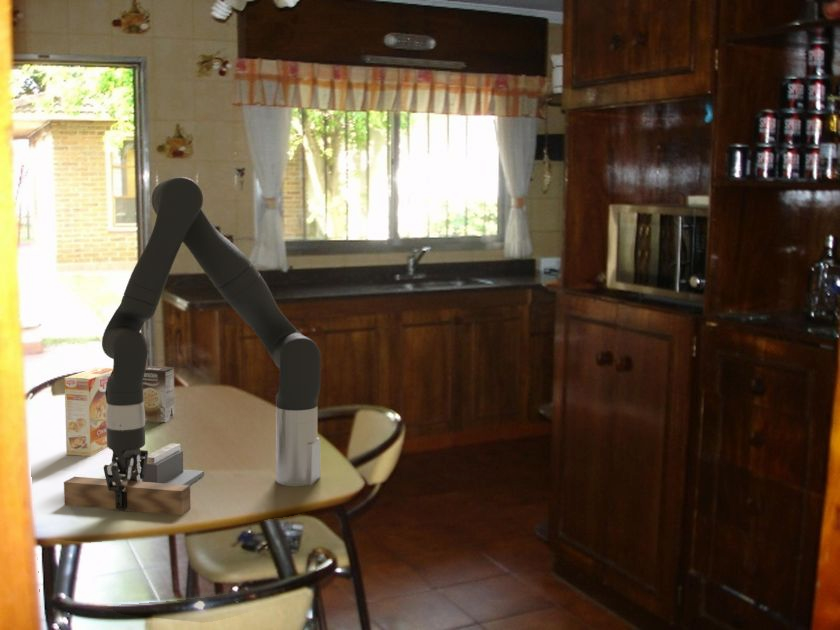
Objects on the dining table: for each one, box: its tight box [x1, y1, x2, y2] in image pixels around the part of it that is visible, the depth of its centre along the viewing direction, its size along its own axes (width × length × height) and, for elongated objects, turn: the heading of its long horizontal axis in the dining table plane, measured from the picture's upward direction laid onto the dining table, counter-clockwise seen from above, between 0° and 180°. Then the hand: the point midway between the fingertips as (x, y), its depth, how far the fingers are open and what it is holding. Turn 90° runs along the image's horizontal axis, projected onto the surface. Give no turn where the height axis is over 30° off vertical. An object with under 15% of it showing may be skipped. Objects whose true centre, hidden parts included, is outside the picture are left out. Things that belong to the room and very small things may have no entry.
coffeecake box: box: [63, 367, 113, 457], centre depth 237 cm, size 15×7×20 cm, turn 170°
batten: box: [63, 476, 191, 516], centre depth 193 cm, size 26×4×5 cm, turn 79°
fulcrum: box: [141, 442, 205, 486], centre depth 207 cm, size 12×16×8 cm
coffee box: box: [143, 365, 175, 423], centre depth 264 cm, size 9×6×16 cm
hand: (127, 505), depth 193 cm, fingers closed on batten, 4 cm apart
